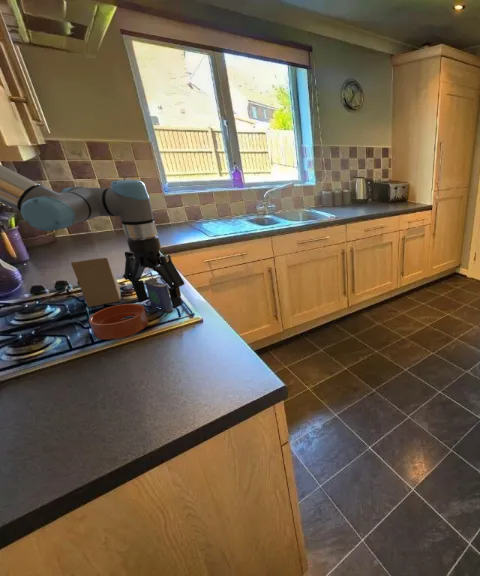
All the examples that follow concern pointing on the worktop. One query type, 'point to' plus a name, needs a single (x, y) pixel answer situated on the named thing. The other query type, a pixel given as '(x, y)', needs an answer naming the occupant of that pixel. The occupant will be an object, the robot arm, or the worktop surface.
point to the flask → (158, 295)
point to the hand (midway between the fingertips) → (160, 303)
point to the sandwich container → (97, 281)
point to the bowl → (118, 321)
